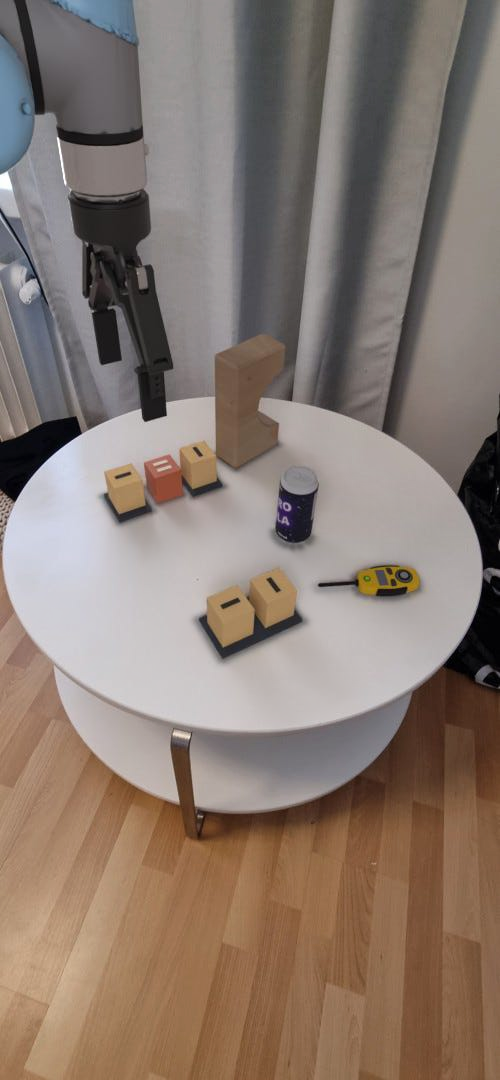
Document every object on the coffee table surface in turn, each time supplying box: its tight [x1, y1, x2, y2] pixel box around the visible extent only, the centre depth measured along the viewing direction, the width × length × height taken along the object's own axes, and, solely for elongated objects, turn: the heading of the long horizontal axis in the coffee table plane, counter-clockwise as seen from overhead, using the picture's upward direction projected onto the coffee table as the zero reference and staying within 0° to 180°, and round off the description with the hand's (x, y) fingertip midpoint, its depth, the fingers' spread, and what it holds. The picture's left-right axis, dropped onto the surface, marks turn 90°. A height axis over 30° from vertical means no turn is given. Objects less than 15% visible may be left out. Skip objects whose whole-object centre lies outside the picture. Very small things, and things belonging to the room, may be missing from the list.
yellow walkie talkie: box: [317, 564, 421, 597], centre depth 85 cm, size 5×2×15 cm
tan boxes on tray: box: [198, 567, 303, 660], centre depth 79 cm, size 12×7×6 cm, turn 120°
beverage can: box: [275, 464, 320, 544], centre depth 88 cm, size 6×6×12 cm
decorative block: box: [214, 332, 286, 469], centre depth 100 cm, size 11×6×20 cm, turn 133°
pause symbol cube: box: [143, 454, 184, 504], centre depth 97 cm, size 5×5×6 cm
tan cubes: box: [103, 440, 224, 523], centre depth 96 cm, size 19×7×6 cm, turn 120°
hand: (131, 388), depth 70 cm, fingers open, 13 cm apart
